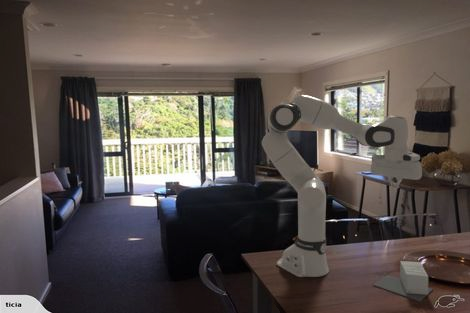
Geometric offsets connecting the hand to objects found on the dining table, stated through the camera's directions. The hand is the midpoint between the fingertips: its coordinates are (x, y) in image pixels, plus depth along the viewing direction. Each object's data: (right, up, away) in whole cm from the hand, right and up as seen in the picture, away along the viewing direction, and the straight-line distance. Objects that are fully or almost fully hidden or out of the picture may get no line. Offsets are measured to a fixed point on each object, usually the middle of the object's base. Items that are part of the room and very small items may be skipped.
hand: (394, 187), depth 151 cm
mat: (-4, -36, -16) cm, 40 cm away
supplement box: (+2, -31, -10) cm, 33 cm away
